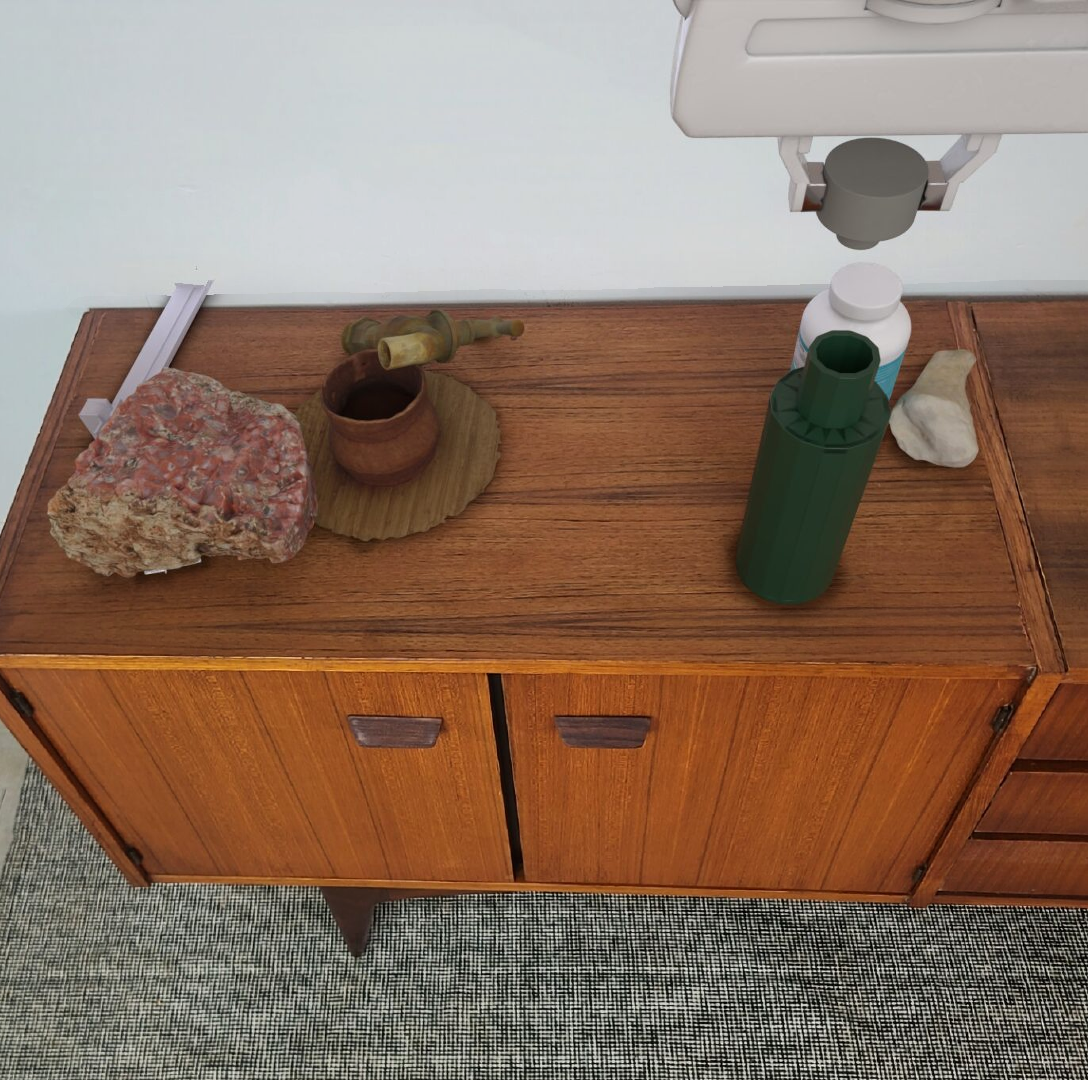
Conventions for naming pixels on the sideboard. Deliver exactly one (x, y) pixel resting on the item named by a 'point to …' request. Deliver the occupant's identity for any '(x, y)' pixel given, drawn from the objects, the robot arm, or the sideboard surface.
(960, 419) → the beige lumpy piece
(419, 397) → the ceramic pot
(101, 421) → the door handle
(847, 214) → the cylinder
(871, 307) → the pill bottle
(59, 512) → the rock
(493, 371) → the sideboard surface
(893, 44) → the robot arm
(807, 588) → the bottle
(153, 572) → the card
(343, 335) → the faucet
